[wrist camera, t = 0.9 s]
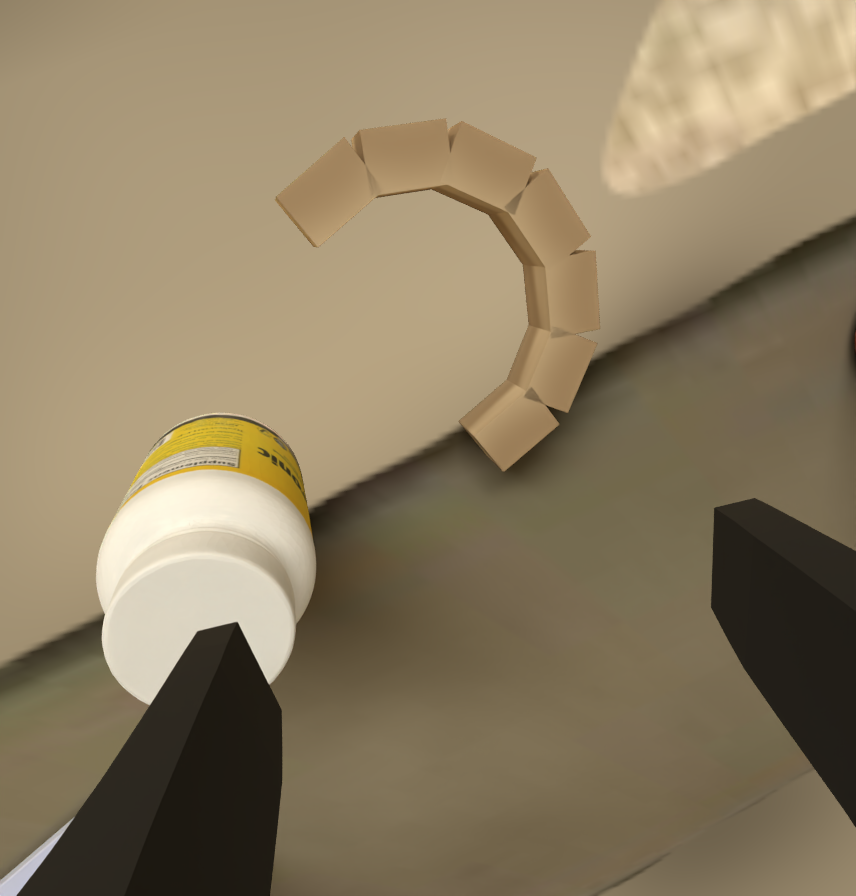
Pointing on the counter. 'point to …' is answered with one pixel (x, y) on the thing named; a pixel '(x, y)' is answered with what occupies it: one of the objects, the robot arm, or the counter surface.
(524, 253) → the oak collar
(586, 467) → the counter surface
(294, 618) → the supplement bottle
